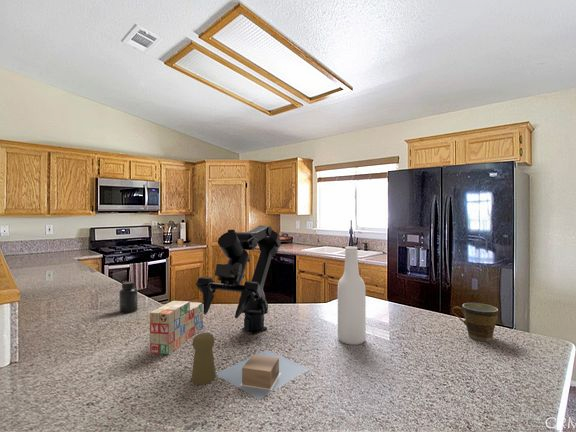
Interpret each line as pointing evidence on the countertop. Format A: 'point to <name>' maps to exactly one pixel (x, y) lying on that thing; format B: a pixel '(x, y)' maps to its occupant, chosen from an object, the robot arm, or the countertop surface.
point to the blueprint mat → (234, 376)
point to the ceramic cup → (479, 320)
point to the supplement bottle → (128, 298)
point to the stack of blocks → (174, 325)
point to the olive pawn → (203, 359)
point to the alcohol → (351, 301)
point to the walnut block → (260, 371)
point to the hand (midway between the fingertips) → (220, 315)
